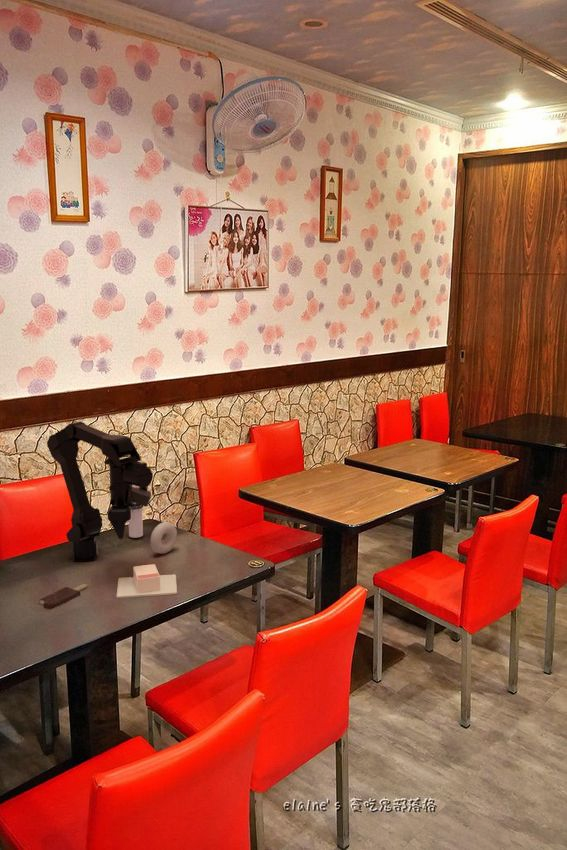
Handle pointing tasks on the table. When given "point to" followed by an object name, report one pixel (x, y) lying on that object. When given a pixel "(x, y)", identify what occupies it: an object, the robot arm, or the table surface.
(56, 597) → the ice cream bar
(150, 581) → the card deck
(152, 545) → the donut
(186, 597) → the table surface
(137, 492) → the robot arm
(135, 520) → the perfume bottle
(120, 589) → the mat
